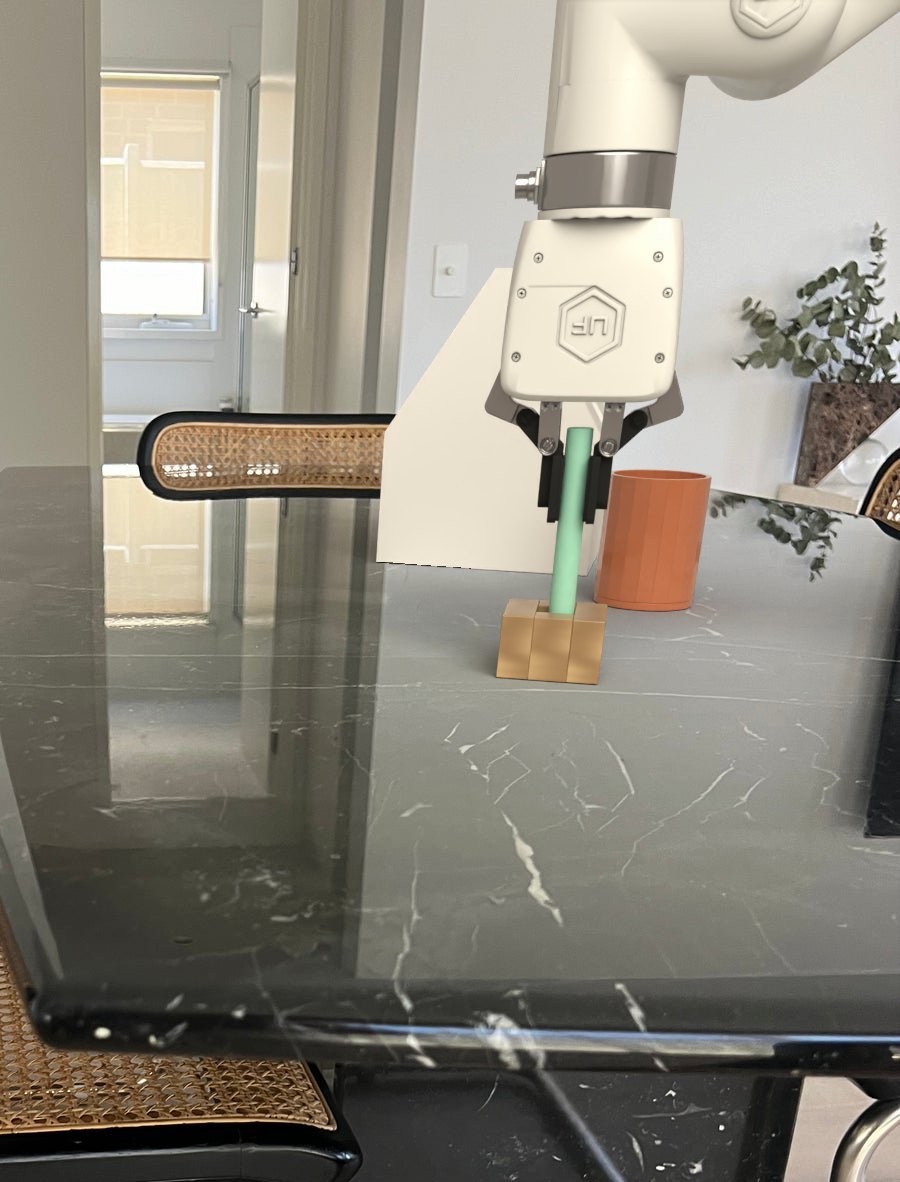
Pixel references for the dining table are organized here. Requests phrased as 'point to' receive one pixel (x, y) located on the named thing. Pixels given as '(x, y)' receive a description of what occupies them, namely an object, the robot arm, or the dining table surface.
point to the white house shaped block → (472, 461)
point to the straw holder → (551, 642)
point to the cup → (651, 539)
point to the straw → (570, 520)
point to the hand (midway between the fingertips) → (571, 518)
